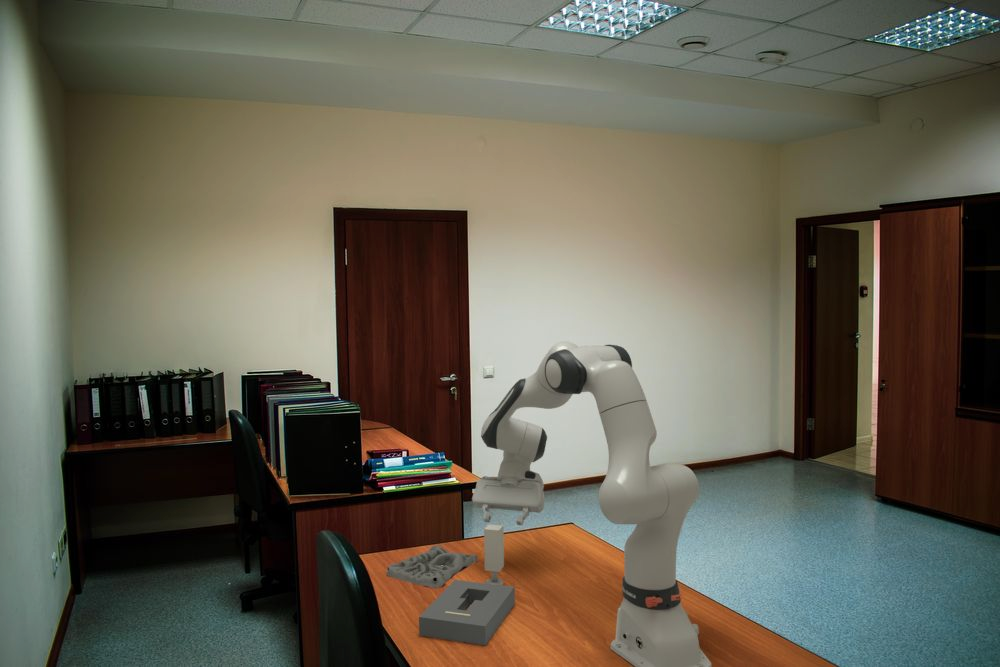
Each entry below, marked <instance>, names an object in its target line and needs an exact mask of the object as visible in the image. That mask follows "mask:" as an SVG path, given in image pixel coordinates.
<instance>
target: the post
mask: <svg viewBox="0 0 1000 667" xmlns="http://www.w3.org/2000/svg"><path fill="white" fill-rule="evenodd" d="M483 533H484V534H483V537H484V538H483V539H484V540H483V542H484V544H483V545H484V551H483V552H484V571H486V572H487V571H489V572H491V578H488V579H486V580H485V581H486V582H485V583H487V584H495V585H503V586H504V580H503V579H502V578H500V577H498V575H499V574H498V573H500V572H501V571H502V569H503V568H504V567H505V550H504V549H505V548H504V546H505V542H504V540H505V539H504V536H505V535H504V534H505V533H504V525H502V524H501V525H499V524H491V523H489V524H488V525H486V527H485V528H483Z"/></svg>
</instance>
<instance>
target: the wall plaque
mask: <svg viewBox="0 0 1000 667" xmlns="http://www.w3.org/2000/svg"><path fill="white" fill-rule="evenodd" d="M478 560H479V558H478V555H476V554H474V553H472V554H469V553H467V554H465V553H462V552H455V551H453V552H450V551H448V550H446V549H445V548H444V547H442V546H440V545H439V544H438V545H436V544H435V545H431V547H430V548H429V549H428V550H427V551H424V552H421V553H419V554H416V555H415V556H410V557H408V558H406V559H404V560H401V561H400V562H395V563H391V564H389V565H388V567H387V570H386V574H385V575H386V576H387V577H388V576H389V578H392V579H394V578H395V579H396V580H398V579H399V581H403V582H405V581H406V582H407V583H410V584H413V585H417V584H418V585H417V586H421V585H422V587H427V588H429V587H432V588H431V589H438V588H437V587H441V588H442V587H443V586H444V585H446V583H447V582H448V581H450V580H451V578H452V577H453V575H457V574H458V573H460V571H461V570H462V569H463V568H468V567H469V565H470V564H471V565H473V564H472V563H474V562H477V561H478ZM477 563H478V562H477ZM474 564H475V563H474ZM441 565H443V566H441ZM471 565H470V566H471ZM467 566H468V567H467ZM457 572H458V573H457ZM434 579H436V581H435V580H434ZM449 579H450V580H449ZM447 580H448V581H447ZM446 581H447V582H446Z"/></svg>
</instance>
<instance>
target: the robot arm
mask: <svg viewBox="0 0 1000 667" xmlns="http://www.w3.org/2000/svg"><path fill="white" fill-rule="evenodd" d="M582 393H591V395H592V396H593V397H594V400H595V402H596V406H597V411H598V415H599V418H600V421H601V425H602V427H603V431H604V436H605V439H606V444H607V449H608V465H607V466H608V467H607V471H606V476H605V477H604V480H603V482H602V484H601V485H600V487H599V489H598V495H597V496H598V497H597V501H598V506H599V508H600V511H601V513H602V514H603V516H604V517H605V519H607V520H608V521H609V522H610V523H612V524H614V525H635V528H634V529H633V531H632V532H631V534H629V536H628V537H627V539H626V541H625V543H624V554H623V555H624V556H623V558H624V560H623V561H624V563H623V564H624V568H623V569H624V576H623V577H622V584H621V589H622V590H621V591H622V597H623V599H622V602H621V604H620V606H619V607H618V609H617V614H616V626H615V627H616V628H615V639H613V640H612V641H611V642H610V650H611V651H613V652H614V653H615V654H617V655H618V656H620V657H621V658H623V659H624V660H626V661H627V662H629V664H630V665H632V666H634V667H712V666H713V665H712V662H711V660H709V658H708V657H707V655H706V654H705V653H704V652H703V650H702V649H701V648H700V642H699V636H698V635H699V634H700V628H699V626H698V625H699V624H697V623H692V622H691V620H690V618H689V615H688V611H687V610H685V609H684V607H683V605H682V603H681V601H682V597H681V596H683V595H682V593H680V592H681V591H680V587H679V582H678V580H677V572H676V571H677V548H678V543H679V539H680V534H681V531H682V528H683V525H684V522H685V519H686V517H687V515H688V513H689V511H690V509H691V508H692V506H693V505H694V504H695V502H696V501H697V499H698V498H699V494H700V483H699V481H698V477H697V476H696V474H695V473H694V471H693V470H692V469H691V468H689V467H688V466H686V465H684V464H679V463H678V464H677V463H661V464H656V465H653V466H651V464H650V450H651V446H652V445H653V444H654V442H656V440H657V435H658V434H657V429H656V426H655V422H654V420H653V419H654V418H653V417H652V413H651V410H650V407H649V404H648V400H647V398H646V395H645V393H644V390H643V386H642V385H641V383H640V381H639V379H638V376H637V375H636V373H635V371H634V369H633V361H632V359H631V356H630V354H629V352H628V351H627V350H626V349H625V348H624V347H622V346H621V345H620V346H619V345H617V344H604V345H583V346H582V345H581V346H578V345H576V344H575V343H574V342H570V341H559V342H557V343H555V344H553V346H552V347H551V348H550V349H549V350H548V352H547V353H546V354H545V355H544V357H543V359H542V360H541V362H540V364H539V366H538V368H537V370H536V371H535V372H534V373H533V374H531V375H529V376H528V377H525V378H520V379H519V380H517V382H515V384H513V386H512V387H511V388H510V389H509V391H508V392H507V393H506V395H505V396H504V397H503V399H502V400H501V401H500V402H499V404H498V405H497V407H496V408H495V409H494V410H493V411H492V412H491V413H490V414H489V415H488V416H487V418H486V419H485V421H484V423H483V425H482V427H481V433H480V434H481V435H480V438H481V439H482V441H483V443H484V444H485V446H486V447H487V448H491V449H495V450H500V451H503V453H502V456H503V458H502V461H501V462H500V465H499V470H498V474H497V476H487V475H486V476H485V475H484V476H482V477H480V478H478V479H477V482H476V484H475V489H474V491H473V494H472V497H471V501H472V503H473V505H474V507H475V508H478V509H479V508H480V509H482V511H483V522H484V523H491V519H492V516H491V514H489V513H488V512H489V511H490V509H492V510H502V511H515V512H522V513H521V515H520V516H517V517H516V523H515V524H516V525H517V526H523V525H524V523H525V522H524V521H525V520H526V519H527V518H528V517H529V516H530V513H541V512H542V511H543V510H544V508H545V492H544V488H545V485H544V481H543V478H542V477H541V475H540V473H538V472H535V471H532V470H531V464H532V463H536V461H537V462H538V460H540V459H542V457H543V456H544V454H545V451H546V445H547V441H548V435H547V433H546V431H545V429H544V428H543V427H541V426H540V425H537V424H533V423H532V422H527V421H524V420H521V419H518V418H515V417H512V416H513V414H514V413H515V412H516V411H517V410H518V409H523V408H538V409H545V410H546V409H547V410H550V409H557V408H560V407H562V406H564V405H565V404H566V403H567V402H568V401H570V399H571V398H572V396H573V395H580V394H582Z"/></svg>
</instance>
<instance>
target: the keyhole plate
mask: <svg viewBox="0 0 1000 667" xmlns="http://www.w3.org/2000/svg"><path fill="white" fill-rule="evenodd" d="M515 587H516V586H510V585H504V584H503V585H495V584H487V583H486V582H476V581H470V580H461V579H460V580H459V579H454V580H453V581H452V582H451V583H450V584H449V585H448V586H447V587H446V588H445V589H444V590H443V591H442V592H441V593H440V595H438V596H437V598H436V599H434V601H432V603H431V604H430V605H429V606H428V607H427V608H426V609H425V610H424V611H423V612H422V613H421V614H420V615H419V616H418V635H420V636H419V637H424V636H426V637H425V638H431V637H433V639H437V638H439V640H444V639H447V640H446V641H451V640H453V641H452V642H457V641H458V642H457V643H464V642H466V644H472V645H479V646H484V647H485V646H487V645H488V643H489V641H490V640H491V639H492V637H493V636H494V634H496V632H497V631H498V629H499V627H500V626H501V624H502V623H503V622H504V621H505V618H506V617H507V616H508V615H509V614H510V612H511V610H512V609H513V608H514V607H515V605H514V604H516V599H515V598H516V588H515ZM469 605H471V606H469ZM466 608H467V609H466ZM465 609H466V610H465Z"/></svg>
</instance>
